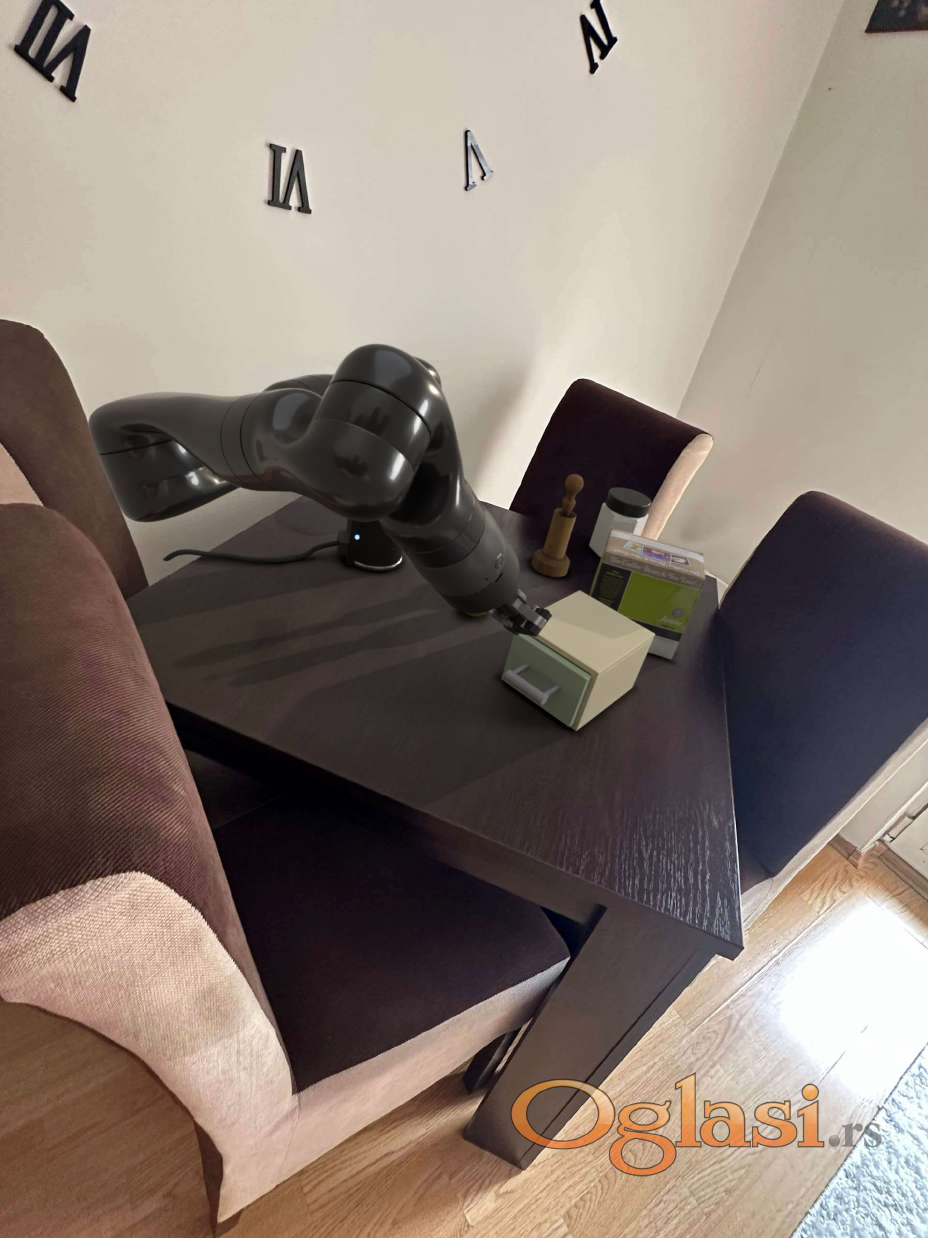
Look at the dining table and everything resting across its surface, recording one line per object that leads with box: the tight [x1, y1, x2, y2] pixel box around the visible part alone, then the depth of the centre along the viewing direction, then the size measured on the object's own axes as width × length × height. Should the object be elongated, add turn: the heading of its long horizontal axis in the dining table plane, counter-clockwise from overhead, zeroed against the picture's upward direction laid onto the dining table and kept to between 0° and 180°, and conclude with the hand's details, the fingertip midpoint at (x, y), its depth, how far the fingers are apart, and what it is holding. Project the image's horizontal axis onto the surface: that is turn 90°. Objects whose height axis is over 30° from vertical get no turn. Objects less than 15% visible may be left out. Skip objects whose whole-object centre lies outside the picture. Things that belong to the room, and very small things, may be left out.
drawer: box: [501, 634, 592, 728], centre depth 85 cm, size 18×11×8 cm, turn 137°
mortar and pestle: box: [531, 473, 585, 578], centre depth 113 cm, size 7×6×18 cm
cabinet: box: [533, 590, 655, 732], centre depth 88 cm, size 15×13×10 cm
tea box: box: [588, 528, 707, 660], centre depth 101 cm, size 15×10×15 cm, turn 73°
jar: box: [588, 487, 652, 558], centre depth 126 cm, size 9×8×12 cm
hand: (518, 625), depth 69 cm, fingers closed
